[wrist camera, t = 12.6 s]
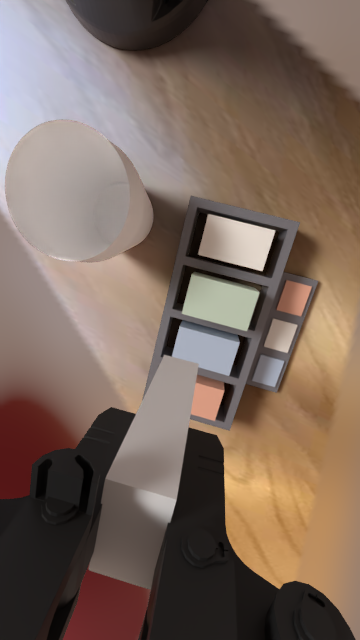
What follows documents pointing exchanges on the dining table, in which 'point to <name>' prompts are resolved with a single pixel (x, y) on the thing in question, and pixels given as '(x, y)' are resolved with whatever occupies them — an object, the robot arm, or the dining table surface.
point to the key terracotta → (207, 397)
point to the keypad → (267, 281)
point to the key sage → (220, 301)
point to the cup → (76, 193)
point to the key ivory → (236, 242)
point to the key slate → (206, 347)
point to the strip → (281, 331)
